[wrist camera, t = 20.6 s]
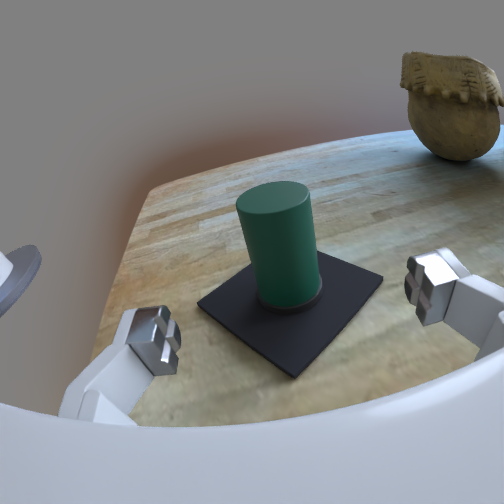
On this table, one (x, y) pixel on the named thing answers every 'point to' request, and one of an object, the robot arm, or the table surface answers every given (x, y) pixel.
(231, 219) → the table surface
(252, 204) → the thermos cap
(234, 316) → the mat
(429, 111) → the clay pot
